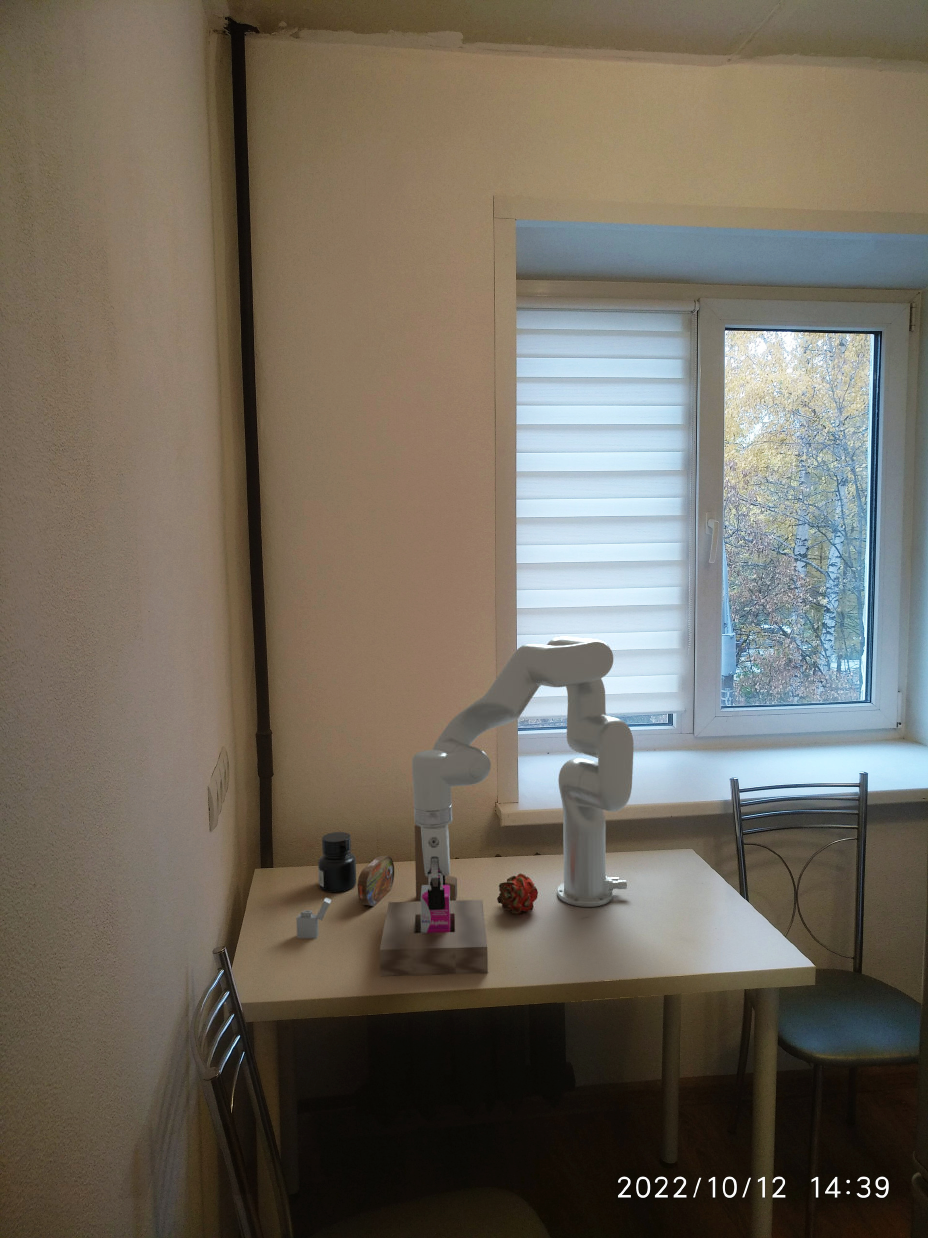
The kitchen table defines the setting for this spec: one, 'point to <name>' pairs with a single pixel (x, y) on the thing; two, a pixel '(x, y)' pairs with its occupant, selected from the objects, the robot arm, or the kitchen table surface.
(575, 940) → the kitchen table surface
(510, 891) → the dragon fruit
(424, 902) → the supplement box
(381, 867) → the tin
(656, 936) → the kitchen table surface
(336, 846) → the ink bottle
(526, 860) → the kitchen table surface
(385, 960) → the socket block
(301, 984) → the kitchen table surface
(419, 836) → the wooden block
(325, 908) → the lighter
